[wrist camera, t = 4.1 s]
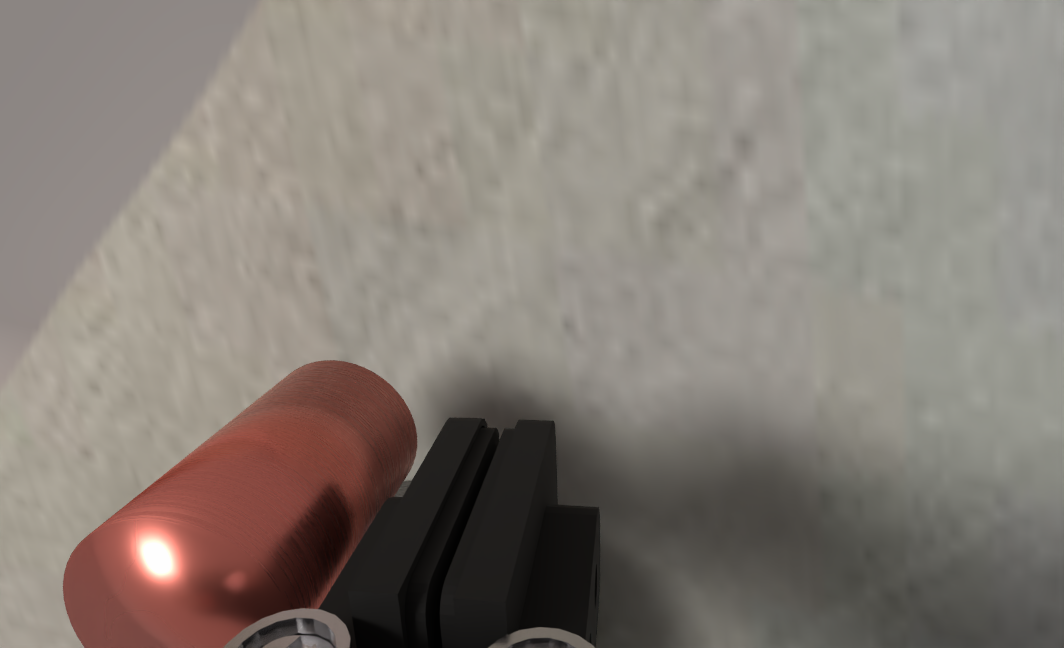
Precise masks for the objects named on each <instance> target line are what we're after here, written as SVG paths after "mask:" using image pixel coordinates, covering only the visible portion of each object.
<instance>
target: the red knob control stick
mask: <svg viewBox="0 0 1064 648" xmlns="http://www.w3.org/2000/svg"><path fill="white" fill-rule="evenodd" d="M416 451H417V433H416V427H415V424H414V420H413V417H412V415H411V413H410V410H409V409H408V407H407V405H406V403H405V402H404V400H403V399H402V398H401V396H400V395H399V394H398V392H397V391H396V390H395V389H394V388H393V387H392V386H391V385H390V384H389V383H387V382H386V381H385V380H384V379H383V378H381V377H380V376H378V375H377V374H375V373H374V372H372V371H370V370H368V369H366V368H364V367H361V366H358V365H356V364H352V363H348V362H343V361H335V360H330V361H318V362H313V363H310V364H306V365H304V366H302V367H300V368H298V369H296V370H295V371H293V372H292V373H290V374H289V375H288V376H286V377H285V378H284V379H283V380H281V381H280V382H279V383H278V384H276V385H275V386H274V387H273V388H271V389H270V390H269V391H268V392H266V393H265V394H264V395H263V396H261V397H260V398H259V399H258V400H256V401H255V402H254V403H253V404H251V405H250V406H249V407H248V408H246V409H245V410H244V411H243V412H241V413H240V414H239V415H238V416H237V417H235V418H234V419H233V420H232V421H230V422H229V423H228V424H227V425H225V426H224V427H223V428H222V429H220V430H219V431H218V432H217V433H215V434H214V435H213V436H212V437H210V438H209V439H208V440H207V441H205V442H204V443H203V444H202V445H200V446H199V447H198V448H197V449H195V450H194V451H193V452H192V453H190V454H189V455H188V456H187V457H185V458H184V459H183V460H182V461H180V462H179V463H178V464H177V465H175V466H174V467H173V468H172V469H170V470H169V471H168V472H167V473H165V474H164V475H163V476H162V477H160V478H159V479H158V480H157V481H155V482H154V483H153V484H152V485H150V486H149V487H148V488H147V489H145V490H144V491H143V492H142V493H140V494H139V495H138V496H137V497H135V498H134V499H133V500H132V501H130V502H129V503H128V504H127V505H125V506H124V507H123V508H122V509H120V510H119V511H118V512H117V513H115V514H114V515H113V516H112V517H110V518H109V519H108V520H107V521H105V522H104V523H103V524H102V525H100V526H99V527H98V528H97V529H95V530H94V531H93V532H92V533H90V534H89V535H88V536H87V537H86V538H85V539H84V540H82V541H81V542H80V543H79V544H78V546H77V547H76V548H75V550H74V551H73V552H72V554H71V556H70V558H69V560H68V562H67V565H66V569H65V573H64V581H63V593H64V601H65V606H66V611H67V614H68V616H69V619H70V622H71V624H72V626H73V629H74V631H75V633H76V635H77V636H78V638H79V640H80V641H81V643H82V644H83V646H84V647H85V648H223V647H224V646H225V645H226V644H227V643H228V642H229V641H230V640H232V639H233V638H234V637H235V636H236V635H237V634H239V633H240V632H241V631H242V630H243V629H245V628H246V627H248V626H250V625H252V624H254V623H255V622H257V621H259V620H261V619H262V618H265V617H268V616H271V615H273V614H276V613H279V612H282V611H287V610H294V609H301V608H307V609H318V608H319V607H320V605H321V604H322V602H323V600H324V599H325V597H326V596H327V594H328V592H329V591H330V589H331V587H332V586H333V584H334V583H335V581H336V579H337V578H338V576H339V575H340V573H341V571H342V570H343V568H344V566H345V565H346V563H347V562H348V560H349V558H350V557H351V555H352V554H353V552H354V550H355V549H356V547H357V545H358V544H359V542H360V541H361V539H362V537H363V536H364V534H365V533H366V531H367V529H368V528H369V526H370V524H371V523H372V521H373V520H374V518H375V516H376V515H377V513H378V512H379V510H380V508H381V507H382V505H383V504H384V502H385V501H386V500H387V499H388V498H390V497H403V495H404V493H405V492H406V490H407V488H408V487H409V485H410V483H411V481H405V482H403V481H404V480H405V478H406V476H407V475H408V473H409V472H410V470H411V467H412V465H413V463H414V460H415V457H416Z"/></svg>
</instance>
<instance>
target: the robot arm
mask: <svg viewBox="0 0 1064 648" xmlns="http://www.w3.org/2000/svg"><path fill="white" fill-rule="evenodd" d="M599 583H600V514H599V507H584V506H565V505H558V499H557V466H556V434H555V423H554V421H539V420H518V422H517V425H516V427H515V429H507V428H506V429H504V431H503V434H502V436H501V439H500V441H499V433H498V430H497V428H487V424H486V421H485V419H477V418H449V419H448V420H447V421H446V423H445V425H444V426H443V428H442V430H441V432H440V433H439V435H438V437H437V439H436V440H435V442H434V444H433V445H432V447H431V449H430V451H429V452H428V454H427V456H426V457H425V459H424V461H423V463H422V464H421V466H420V468H419V469H418V471H417V473H416V475H415V476H414V478H413V480H412V481H411V483H410V485H409V487H408V488H407V490H406V492H405V493H404V495H403V497H390V498H388V499H387V500H386V501H385V502H384V504H383V505H382V507H381V508H380V510H379V512H378V513H377V515H376V516H375V518H374V520H373V521H372V523H371V524H370V526H369V528H368V529H367V531H366V533H365V534H364V536H363V537H362V539H361V541H360V542H359V544H358V545H357V547H356V549H355V550H354V552H353V554H352V555H351V557H350V558H349V560H348V562H347V563H346V565H345V566H344V568H343V570H342V571H341V573H340V575H339V576H338V578H337V579H336V581H335V583H334V584H333V586H332V587H331V589H330V591H329V592H328V594H327V596H326V597H325V599H324V600H323V602H322V604H321V605H320V607H319V608H318V609H307V608H301V609H294V610H287V611H282V612H279V613H276V614H273V615H271V616H268V617H265V618H262V619H261V620H259V621H257V622H255V623H254V624H252V625H250V626H248V627H246V628H245V629H243V630H242V631H241V632H240V633H239V634H237V635H236V636H235V637H234V638H233V639H232V640H230V641H229V642H228V643H227V644H226V645H225V646H224V647H223V648H595V647H596V634H597V621H598V606H599Z"/></svg>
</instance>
